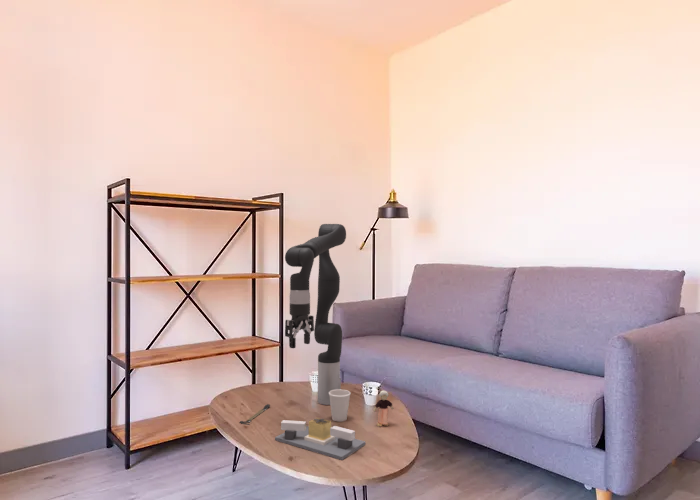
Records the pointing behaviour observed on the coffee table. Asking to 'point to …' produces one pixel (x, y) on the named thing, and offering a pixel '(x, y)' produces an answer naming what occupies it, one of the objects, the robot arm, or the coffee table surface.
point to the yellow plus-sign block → (319, 428)
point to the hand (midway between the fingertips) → (299, 345)
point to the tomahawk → (255, 415)
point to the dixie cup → (339, 404)
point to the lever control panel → (334, 446)
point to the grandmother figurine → (383, 409)
